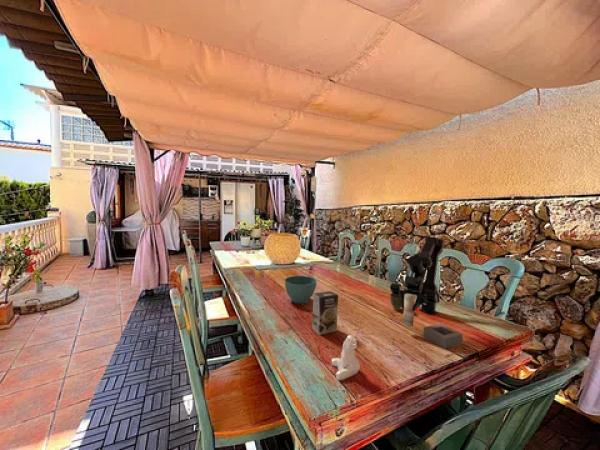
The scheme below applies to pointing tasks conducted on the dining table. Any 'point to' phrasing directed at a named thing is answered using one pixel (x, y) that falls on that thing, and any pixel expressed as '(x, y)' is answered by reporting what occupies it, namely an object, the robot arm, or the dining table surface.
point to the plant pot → (300, 288)
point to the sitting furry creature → (347, 360)
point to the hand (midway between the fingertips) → (407, 309)
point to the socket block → (443, 335)
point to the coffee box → (325, 312)
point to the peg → (408, 309)
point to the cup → (396, 301)
